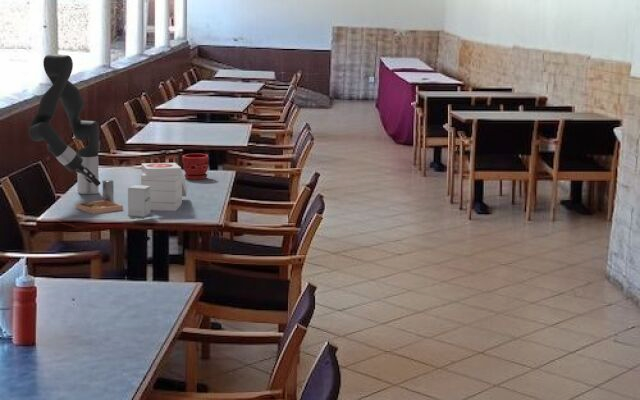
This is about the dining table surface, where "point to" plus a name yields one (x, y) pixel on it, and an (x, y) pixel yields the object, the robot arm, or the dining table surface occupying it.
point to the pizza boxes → (164, 185)
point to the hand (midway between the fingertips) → (95, 183)
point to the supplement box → (139, 200)
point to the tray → (105, 207)
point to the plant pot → (195, 166)
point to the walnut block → (88, 204)
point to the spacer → (108, 190)
